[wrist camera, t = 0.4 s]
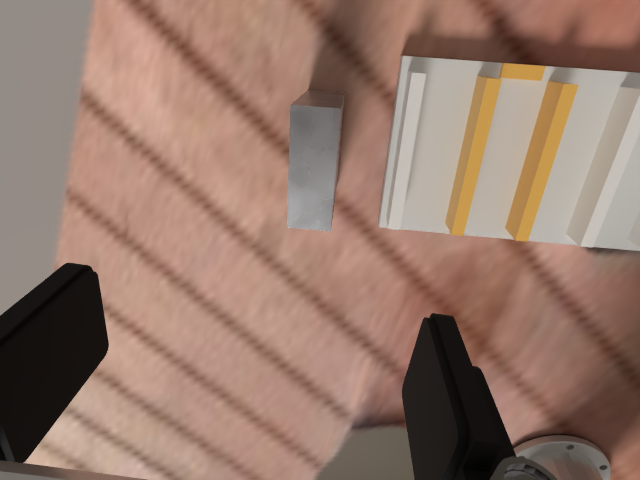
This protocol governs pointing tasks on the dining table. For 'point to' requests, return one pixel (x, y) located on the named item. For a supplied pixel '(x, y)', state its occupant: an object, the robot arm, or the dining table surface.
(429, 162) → the rack
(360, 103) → the dining table surface
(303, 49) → the dining table surface
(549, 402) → the dining table surface
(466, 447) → the robot arm
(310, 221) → the panel
